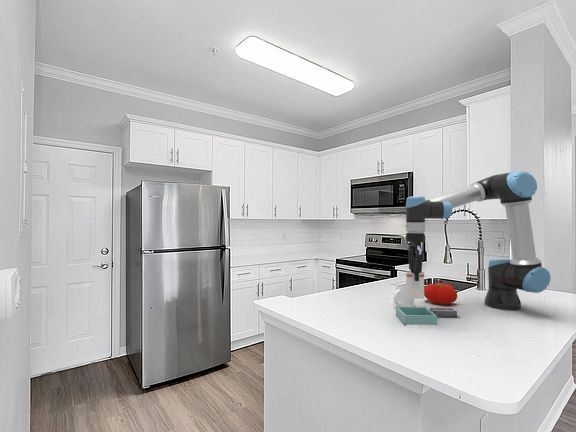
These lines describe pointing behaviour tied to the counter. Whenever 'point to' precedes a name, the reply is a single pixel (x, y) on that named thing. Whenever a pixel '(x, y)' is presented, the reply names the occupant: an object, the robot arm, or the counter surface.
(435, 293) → the tomato
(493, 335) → the counter surface
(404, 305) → the mug
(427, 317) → the tray
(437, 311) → the metal rectangular holder
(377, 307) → the counter surface
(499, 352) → the counter surface
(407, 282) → the cream red-striped panel
